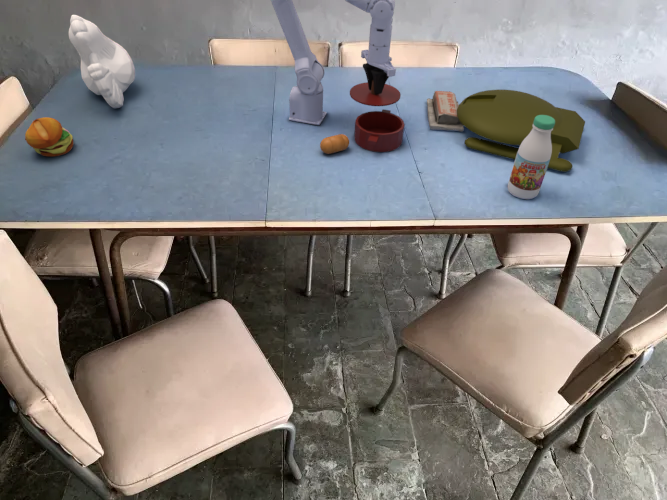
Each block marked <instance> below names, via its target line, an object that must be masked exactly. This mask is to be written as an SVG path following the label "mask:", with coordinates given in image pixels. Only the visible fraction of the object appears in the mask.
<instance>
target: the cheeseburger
mask: <svg viewBox="0 0 667 500" xmlns="http://www.w3.org/2000/svg"><path fill="white" fill-rule="evenodd" d="M73 138H74V136H73V134H71V133H70V131H69V130H68V129H66V128H64V127H63V126H62V123H61V122H60V121H59V120H57V119H55V118H53V117H48V116H47V117H46V116H45V117H39V118H36V119H34V120H32V122H31V124H30V125H29V127H28V128H27V130H25V134H24V140H25V141H26V144H27V145H28V146H30V148H32V149H33V150H34V151H35V152H36V153H37V154H40V155H41V156H43V157H60V156H62V155H66V154H68V153H69V152H70V151H71V150H72V149H73V147H74V139H73Z"/></svg>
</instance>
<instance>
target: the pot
mask: <svg viewBox="0 0 667 500" xmlns="http://www.w3.org/2000/svg"><path fill="white" fill-rule="evenodd" d="M354 122H355V123H354V137H353V138H354V142H355V144H356V145H357V146H359V148H361V149H364V150H367V151H370V152H375V153H387V152H392V151H395V150H397V149H399V148H400V147H401V146H402V145H403V140H404V132H405V125H406V124H405V122H404V119H402V117H400V116H399V115H397V114H395V113H392V112H391V110H389V109H381V110H373V111H366V112H363V113H361V114H360V115H359V114H358V116H357V117H356V119H355V121H354Z"/></svg>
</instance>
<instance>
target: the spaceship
mask: <svg viewBox="0 0 667 500" xmlns="http://www.w3.org/2000/svg"><path fill="white" fill-rule="evenodd" d="M458 104H459V106H458V108H457V116H458V119H459V121H460V122H461V123H462V124H463V127H464V128H466V129H468V130H469V131H470V132H472V133H474V134H475V135H477V136H480V137H482V138H480V137H476V136H469V137H467V138H466V139H464V145H465V146H466V147H467V149H470V150H474V151H478V152H480V153H481V152H482V153H486V154H490V155H494V156H498V157H502V158H506V159H509V160H514V161H515V158H516V155H517V152H518V149H519V147H516V146H520V145H521V143H522V141H523V140H524V139H525V138H526V137H527V136H528V135H529V133H530V132H531V130H532V129H533V122H534V119H535V117H536V116H538V115H547V116H550V117H552V118H554V119H555V125H554V127H553V130H552V131H551V144H552V154H551V158H550V161H549V164H548V167H547V169H549V170H553V171H556V172H563V173H565V172H566V173H567V172H569V171H571V170H573V163H572V162H571V161H570V160H568V159H566V158H562V157H559V155H560V154H565V153H569V152H572V151H576V150H579V149H580V145H581V141H582V137H583V132H584V130H585V125H586V120H584V119H583V118H582V117H581V115H580V114H579V113H578V112H577V111H575V110H571V109H566V108H562V107H558V106H555V105H554V104H552V103H550V102H549V101H547V100H546V99H544V98H541V97H539V96H537V95H534V94H531V93H529V92H528V93H527V92H525V91H518V90H514V89H486V90H482V91H478V92H475V93H473V94H470V95H468V96H466V97H465V98H464V99H462V101H461V102H460V103H458Z"/></svg>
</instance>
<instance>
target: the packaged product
mask: <svg viewBox="0 0 667 500" xmlns="http://www.w3.org/2000/svg"><path fill="white" fill-rule="evenodd" d="M459 104H460V103H459V101H458V100H457V96H456V93H454V92H452V91H445V90H434V92H433V95H432V98H426V106H427V119H428V126H429V130H432V131H433V130H434V131H435V130H436V131H457V132H462V133H463V132H464V130H465V126H464V125H463V124H462V123H461V122H460V121H459V119H458V116H457V108H458V106H459Z"/></svg>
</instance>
